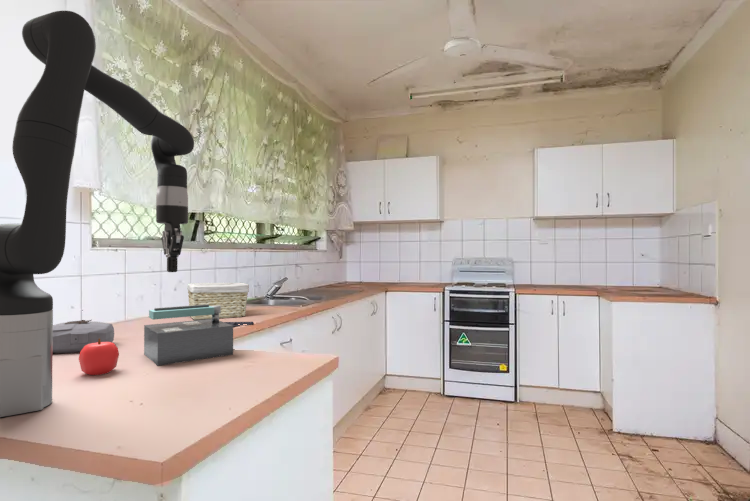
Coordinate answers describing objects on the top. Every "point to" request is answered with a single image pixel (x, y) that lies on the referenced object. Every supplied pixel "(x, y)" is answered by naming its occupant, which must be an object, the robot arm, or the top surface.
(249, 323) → the squeegee
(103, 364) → the apple
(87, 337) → the small grey backpack
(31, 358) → the robot arm
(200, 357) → the box
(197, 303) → the storage basket
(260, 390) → the top surface
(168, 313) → the bar
